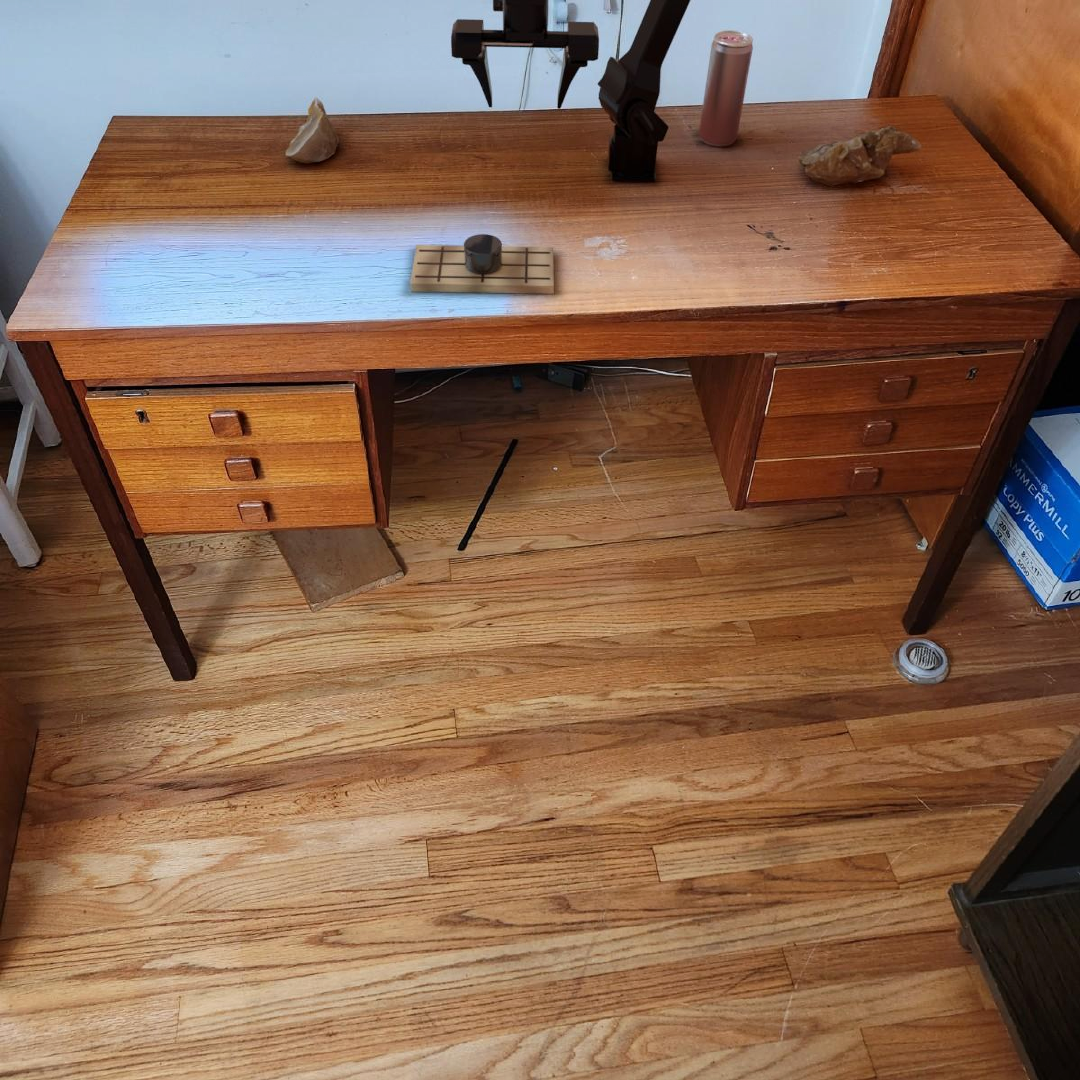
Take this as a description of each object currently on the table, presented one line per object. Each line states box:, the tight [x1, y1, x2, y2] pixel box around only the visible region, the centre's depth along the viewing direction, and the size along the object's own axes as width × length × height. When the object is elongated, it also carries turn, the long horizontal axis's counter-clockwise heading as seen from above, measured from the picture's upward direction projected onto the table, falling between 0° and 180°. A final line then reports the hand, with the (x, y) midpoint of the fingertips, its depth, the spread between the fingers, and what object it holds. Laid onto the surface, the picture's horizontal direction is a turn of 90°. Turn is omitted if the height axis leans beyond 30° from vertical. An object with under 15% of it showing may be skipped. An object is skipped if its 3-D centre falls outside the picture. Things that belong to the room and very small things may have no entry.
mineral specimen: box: [797, 125, 922, 187], centre depth 141 cm, size 13×7×15 cm
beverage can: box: [698, 30, 754, 148], centre depth 144 cm, size 6×6×15 cm
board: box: [409, 244, 555, 295], centre depth 123 cm, size 18×9×1 cm, turn 90°
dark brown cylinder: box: [463, 233, 503, 274], centre depth 122 cm, size 5×5×3 cm
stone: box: [285, 97, 339, 164], centre depth 144 cm, size 7×6×15 cm
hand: (524, 106), depth 129 cm, fingers open, 9 cm apart
